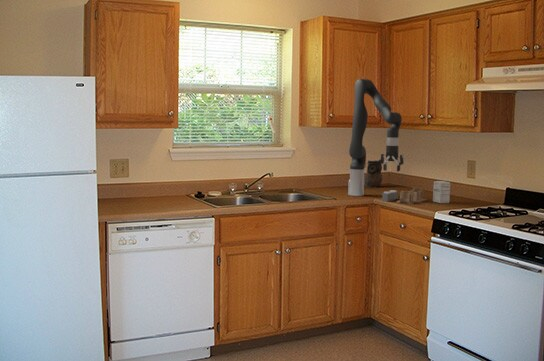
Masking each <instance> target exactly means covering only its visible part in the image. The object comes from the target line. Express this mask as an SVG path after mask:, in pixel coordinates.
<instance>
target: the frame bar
mask: <svg viewBox="0 0 544 361" xmlns="http://www.w3.org/2000/svg"><path fill="white" fill-rule="evenodd" d="M381 194H382V196H381V201H382V202H391V201H397V200H398V198H399V195H398V194H399V191H397V190H394V189H393V190H392V189H391V190H389V191H383V192H382V193H381ZM396 199H397V200H396Z"/></svg>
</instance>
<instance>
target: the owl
mask: <svg viewBox="0 0 544 361" xmlns="http://www.w3.org/2000/svg"><path fill="white" fill-rule="evenodd" d="M380 162H381V158H380V159H373V160H372V159H371V160H368V161H367V164H366V172H365V178H364V187H366V188H369V189H370V188H371V189H375V187H376V188H381V185H382V181H383V174H382V170H383V169H382V168H383V164H382V163H380Z"/></svg>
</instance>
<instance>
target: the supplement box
mask: <svg viewBox="0 0 544 361" xmlns="http://www.w3.org/2000/svg"><path fill="white" fill-rule="evenodd" d="M432 190H433V192H432V202H434V203H438V204H449V203H450V197H451V196H450V194H451V182H449V181H444V180H435V181H433V189H432Z"/></svg>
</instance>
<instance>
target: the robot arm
mask: <svg viewBox="0 0 544 361" xmlns="http://www.w3.org/2000/svg"><path fill="white" fill-rule="evenodd" d="M365 95H368V96H369V97H371V99H372V101H373V104H374V107H375V108H376V110H378V112H380V114H381V116H382V118H383V120H384V121H385V122H386V123H387V124H389V125H391V126H390V127H389V128H387V131H386V142H385V148H386V149H385V153H381V154H380V159H381V162H380V163H381V164H382V168H383V169H382V170H383V171H384V172H385V171H386V172H387V167H388V165H387V164H388V163H389V162H395V164H396V172H400V171H401V165H402V166H403V165H404V154H399V147H400V146H399V145H400V141H399V136H400V135H399V133H400V132H399V131H400V128H401V125H402V121H403V120H402V115H401V113H399V112H396V111H395V112H392V107H391V105H390V104H389V103H388V102H387V101H386V100H385V99H384V98H383V96H382V95H381V93H380V92H379V90H378V89H377V87H376V86H375V84H374V83H373V81H372V80H371V79H369V78H358V79H357V80H356V81H355V84H354V106H353V116H352V129H351V140H350V145H349V150H348V151H349V153H348V154H349V157H350V158H351V162H350V165H349V180H348V185H347V186H348V188H347V189H348V190H347V194H348V196H355V197H362V196H363V197H364V195H365V193H364V192H365V191H364V190H365V189H364V188H365V166H366V161H367V160H366V158H367V157H366V156H367V151H366V147H365V146H364V145H363V138H364V135H365V132H366V128H367V125H368V117H369V116H368V115H369V114H368V113H369V112H368V110H367V107H366V104H365ZM398 158H399V159H398Z"/></svg>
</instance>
